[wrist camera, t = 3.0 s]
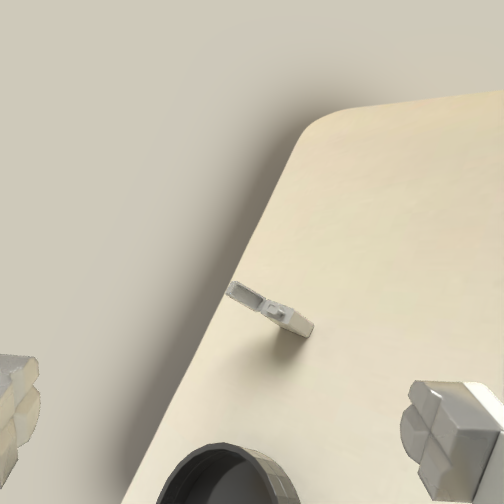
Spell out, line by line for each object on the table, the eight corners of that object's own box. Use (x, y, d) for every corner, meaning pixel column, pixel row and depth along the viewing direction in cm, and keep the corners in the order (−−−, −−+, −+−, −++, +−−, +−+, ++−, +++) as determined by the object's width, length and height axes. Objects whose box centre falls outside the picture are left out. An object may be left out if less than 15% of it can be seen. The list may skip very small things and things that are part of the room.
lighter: (314, 324, 46) (275, 294, 41) (307, 338, 46) (267, 310, 40) (268, 306, 51) (228, 278, 46) (262, 319, 51) (221, 292, 45)
